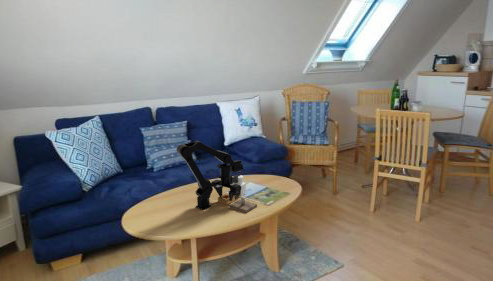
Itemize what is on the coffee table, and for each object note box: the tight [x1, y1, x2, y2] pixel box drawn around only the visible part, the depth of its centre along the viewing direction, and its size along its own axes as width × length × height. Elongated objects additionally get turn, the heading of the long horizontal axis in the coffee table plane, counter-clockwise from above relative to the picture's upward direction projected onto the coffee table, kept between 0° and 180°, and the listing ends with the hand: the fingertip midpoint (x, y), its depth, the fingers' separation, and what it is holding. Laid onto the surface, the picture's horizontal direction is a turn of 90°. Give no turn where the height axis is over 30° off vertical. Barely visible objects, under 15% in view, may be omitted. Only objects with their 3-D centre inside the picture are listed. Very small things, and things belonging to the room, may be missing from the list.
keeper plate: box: [228, 196, 258, 214], centre depth 191 cm, size 10×12×6 cm
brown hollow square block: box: [217, 193, 236, 206], centre depth 199 cm, size 7×7×3 cm
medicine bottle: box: [231, 174, 247, 198], centre depth 209 cm, size 7×7×12 cm
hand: (226, 199), depth 199 cm, fingers closed on brown hollow square block, 7 cm apart
